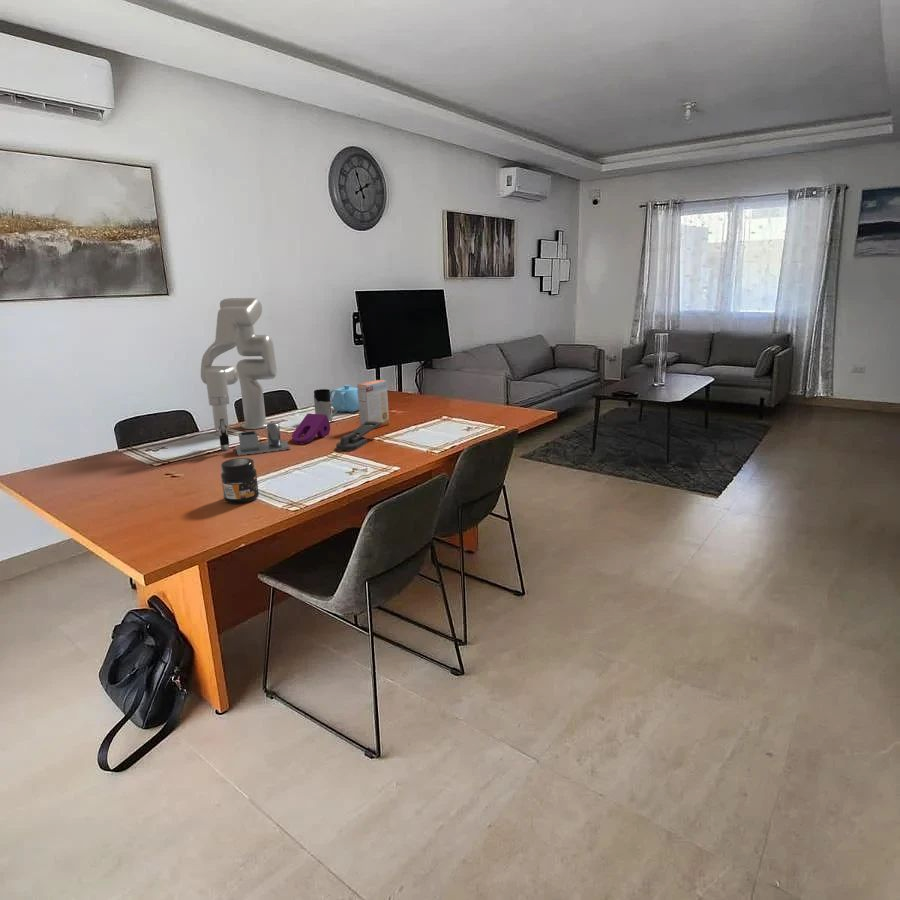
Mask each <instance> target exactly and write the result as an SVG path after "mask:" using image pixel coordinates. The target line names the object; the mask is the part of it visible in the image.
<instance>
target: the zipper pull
mask: <svg viewBox="0 0 900 900" xmlns="http://www.w3.org/2000/svg"><path fill="white" fill-rule="evenodd" d="M366 425H375V426H366ZM380 425H381V423H380V422H373V421H366V422H364V423H363V424H362V425H361V426H360V425H358V427H357V428H356V429H354V430H353V431H352V432H351V433H348V434H346V435H343V436H341V438H340V439H339V440H340V441H338V442H336V450H337V449H339V450H338V451H340V450H346V451H345V452H349V451H348V450H353V451H356V450H355V449H357V450H359V449H360V448H362V447H364V446H366V445H367V444H368V438H367V437H365V435H367V434H369V433H371V431H373V430H375V429H378V428H379V427H378V426H380ZM377 427H378V428H377ZM366 443H367V444H366ZM363 445H364V446H363ZM361 446H362V447H361ZM358 448H359V449H358Z"/></svg>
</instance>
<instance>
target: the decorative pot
mask: <svg viewBox="0 0 900 900" xmlns="http://www.w3.org/2000/svg"><path fill="white" fill-rule="evenodd" d="M333 392H334V394H333ZM336 393H337V394H336ZM339 393H341V394H342V395H343V404H342V395H341V394H339ZM335 394H336V395H335ZM334 395H335V400H334ZM330 400H331V401H333V400H334V401H333V402H331V407H332V409H334V411H335V412H336V411H337V410H338V409H339V408H340V406H341V404H342V406H341V408H340V409H339V410H338V411H337V413H344V412H349V413H350V414H354V413H356V411H359V401H358V388H357V387H353V386H351V385H350V384H344V385H343V387H339V388H337V389H331V390H330Z"/></svg>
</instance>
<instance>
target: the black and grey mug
mask: <svg viewBox="0 0 900 900" xmlns="http://www.w3.org/2000/svg"><path fill="white" fill-rule="evenodd" d="M330 391H331V390H330V389H328V388H326V389H325V388H323V389H322V388H321V389H320V388H319V389H315V390H314V391H313V400H314V414H322V415H327V418H328V421H332V420H333V421H334V419H333V417H334V415H335V414H336V413H338V410H339V409H340V408H341V406H342V404H343V395H342V394H341V393H339V394H341V395H342V404H341V406H340V408H339V409H338V410H337V411H336V410H335V411H334V412H333V413H332V409H333V407H332V405H331V402H333V401H334V400H335V395H336V394H337V393H336V394H335V393H334V394H335V395H334V394H333V396H334V400H333V401H332V400H331V397H330Z"/></svg>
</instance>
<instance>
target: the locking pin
mask: <svg viewBox="0 0 900 900" xmlns="http://www.w3.org/2000/svg"><path fill="white" fill-rule="evenodd" d="M218 431H219V429H217V432H218ZM219 435H220V431H219V434H218V439H219V440H220V436H219ZM219 446H220V451H221V450H223V451H222V452H227V451H229V450H230V444H229V445H221V444H220V443H219ZM226 450H227V451H226Z"/></svg>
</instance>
